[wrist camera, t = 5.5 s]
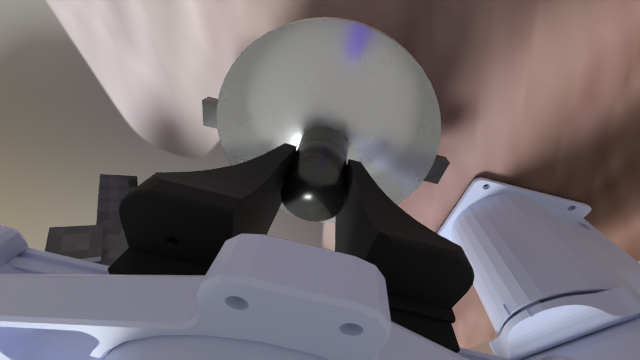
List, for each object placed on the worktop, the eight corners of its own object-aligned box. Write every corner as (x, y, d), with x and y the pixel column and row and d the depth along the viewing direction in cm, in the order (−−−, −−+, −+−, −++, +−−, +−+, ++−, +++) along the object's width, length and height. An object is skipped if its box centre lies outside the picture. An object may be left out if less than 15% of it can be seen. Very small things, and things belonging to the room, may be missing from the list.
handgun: (107, 159, 21) (13, 259, 14) (329, 226, 32) (346, 305, 24) (104, 189, 23) (20, 291, 16) (314, 243, 34) (325, 320, 26)
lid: (474, 34, 11) (563, 70, 6) (394, 214, 18) (406, 293, 13) (218, -3, 11) (113, 3, 6) (242, 187, 18) (201, 256, 14)
